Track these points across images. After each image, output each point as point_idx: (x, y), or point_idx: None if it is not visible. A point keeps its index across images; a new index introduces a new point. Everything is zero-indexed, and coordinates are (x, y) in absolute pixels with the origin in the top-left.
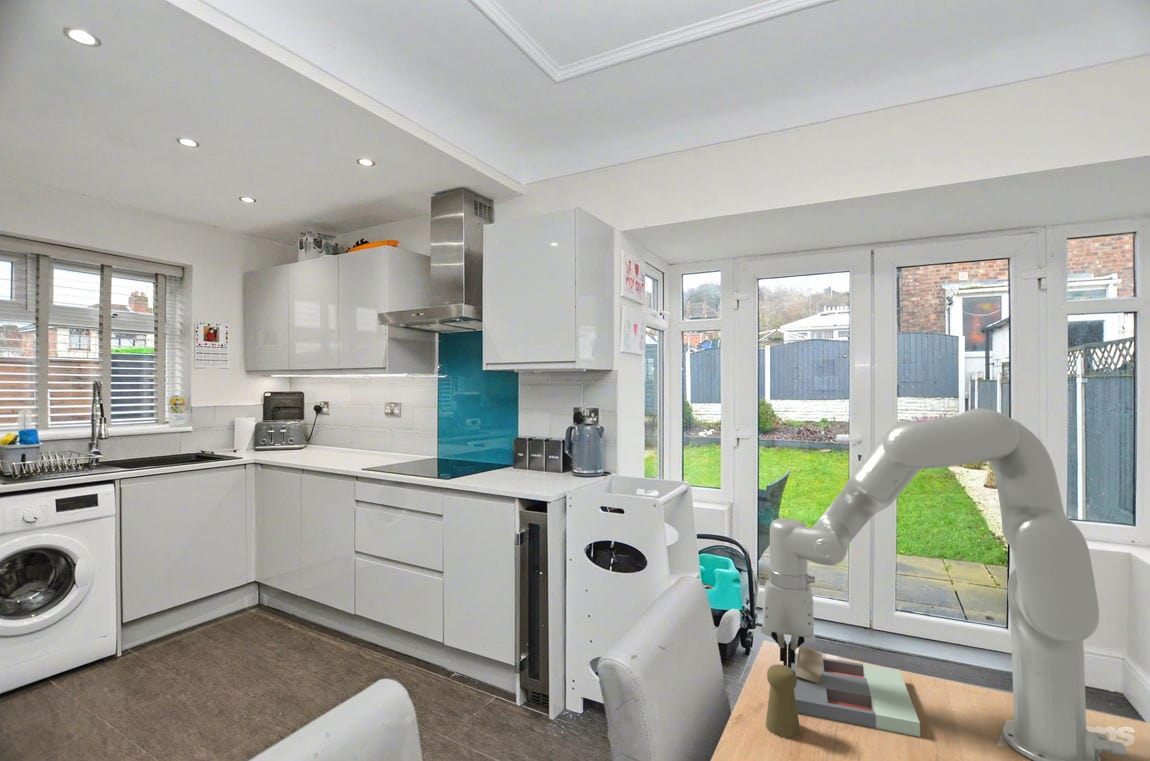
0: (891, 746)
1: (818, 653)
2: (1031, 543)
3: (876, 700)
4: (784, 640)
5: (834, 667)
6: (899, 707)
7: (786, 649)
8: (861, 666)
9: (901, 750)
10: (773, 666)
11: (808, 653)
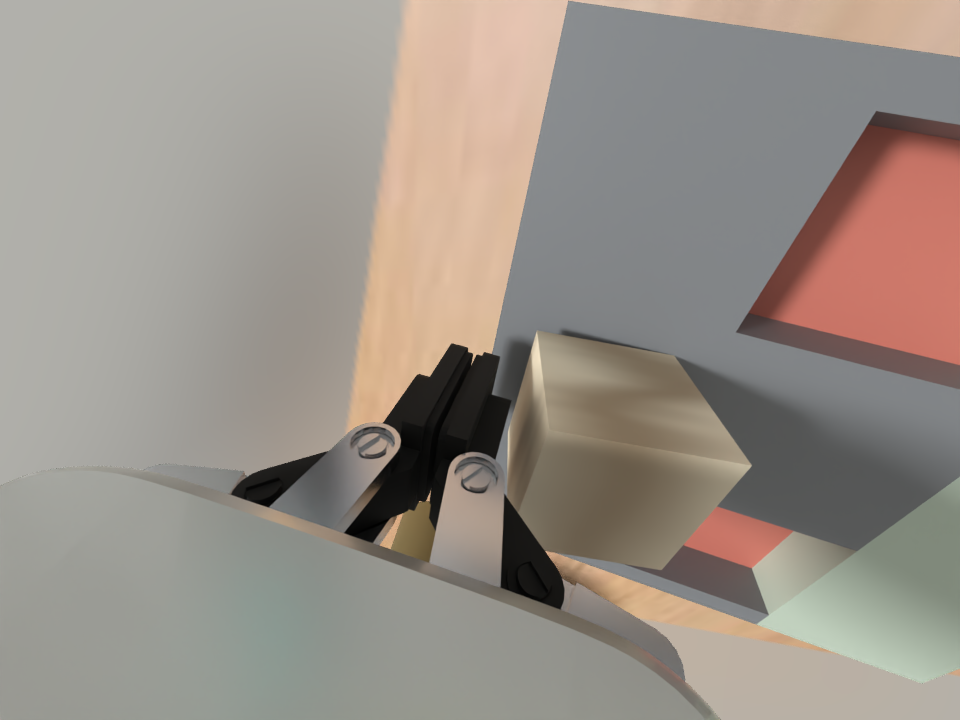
0: (725, 622)
1: (698, 485)
2: None
3: (854, 576)
4: (390, 481)
5: (947, 133)
6: (936, 624)
7: (419, 500)
8: None
9: (745, 635)
10: None
11: (590, 510)
